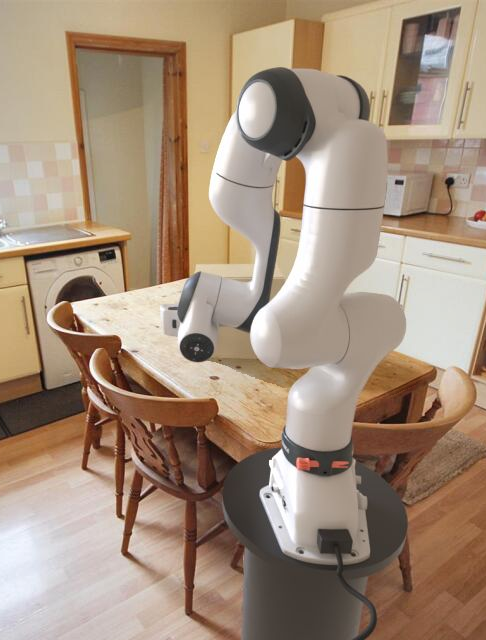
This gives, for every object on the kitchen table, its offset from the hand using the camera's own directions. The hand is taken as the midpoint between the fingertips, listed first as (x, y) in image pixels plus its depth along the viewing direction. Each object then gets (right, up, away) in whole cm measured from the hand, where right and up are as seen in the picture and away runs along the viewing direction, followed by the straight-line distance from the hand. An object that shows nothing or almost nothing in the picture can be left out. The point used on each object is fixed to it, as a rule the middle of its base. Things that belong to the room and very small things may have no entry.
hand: (201, 304), depth 120 cm
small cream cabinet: (+13, -12, +34) cm, 38 cm away
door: (+12, -16, +22) cm, 30 cm away
